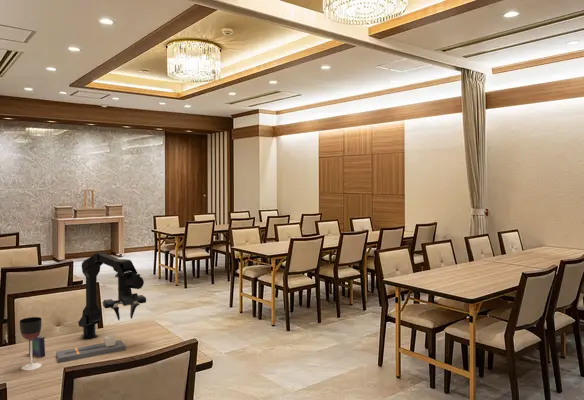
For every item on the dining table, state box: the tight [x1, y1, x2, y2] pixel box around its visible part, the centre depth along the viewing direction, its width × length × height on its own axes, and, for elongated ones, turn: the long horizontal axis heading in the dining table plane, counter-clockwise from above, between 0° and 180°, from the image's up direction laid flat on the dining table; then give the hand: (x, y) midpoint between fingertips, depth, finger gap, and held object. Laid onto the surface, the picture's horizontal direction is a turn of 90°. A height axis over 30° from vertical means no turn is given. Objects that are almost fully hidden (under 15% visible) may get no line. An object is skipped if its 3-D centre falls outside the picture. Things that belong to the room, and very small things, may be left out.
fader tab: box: [103, 334, 116, 347], centre depth 212 cm, size 4×4×4 cm
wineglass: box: [19, 316, 43, 371], centre depth 191 cm, size 8×9×20 cm
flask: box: [28, 333, 46, 358], centre depth 205 cm, size 9×3×11 cm, turn 65°
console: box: [55, 339, 127, 364], centre depth 207 cm, size 10×28×2 cm, turn 123°
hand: (125, 319), depth 215 cm, fingers open, 5 cm apart
